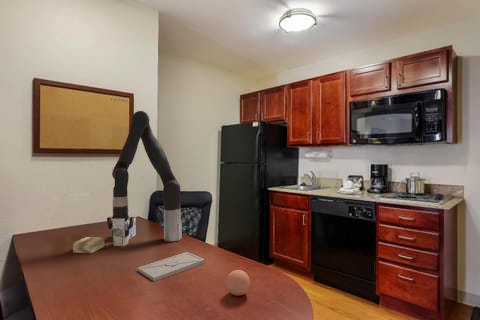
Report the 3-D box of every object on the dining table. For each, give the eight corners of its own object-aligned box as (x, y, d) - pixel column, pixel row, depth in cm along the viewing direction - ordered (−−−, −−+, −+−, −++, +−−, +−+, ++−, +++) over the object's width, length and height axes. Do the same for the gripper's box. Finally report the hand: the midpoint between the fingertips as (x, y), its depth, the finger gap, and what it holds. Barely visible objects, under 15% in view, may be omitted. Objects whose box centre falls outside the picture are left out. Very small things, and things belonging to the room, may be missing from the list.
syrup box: (128, 243, 147) (128, 216, 147) (123, 246, 141) (122, 219, 141) (118, 243, 148) (118, 216, 148) (112, 246, 142) (112, 218, 142)
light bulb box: (128, 240, 153) (128, 221, 153) (116, 240, 153) (116, 221, 153) (136, 234, 164) (136, 217, 164) (125, 234, 164) (125, 217, 164)
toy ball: (249, 288, 95) (249, 266, 95) (250, 300, 87) (250, 275, 87) (226, 289, 95) (226, 266, 95) (226, 300, 87) (225, 276, 87)
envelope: (137, 272, 111) (154, 283, 101) (137, 267, 111) (154, 277, 101) (186, 255, 128) (204, 263, 118) (186, 251, 128) (204, 258, 118)
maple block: (104, 247, 142) (104, 237, 142) (92, 253, 132) (92, 243, 132) (86, 246, 143) (86, 237, 143) (73, 253, 133) (72, 242, 133)
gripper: (136, 203, 148) (136, 234, 148) (110, 203, 148) (110, 234, 148) (130, 206, 140) (131, 238, 140) (103, 206, 141) (103, 238, 141)
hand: (120, 236), depth 144 cm, fingers closed on syrup box, 6 cm apart
